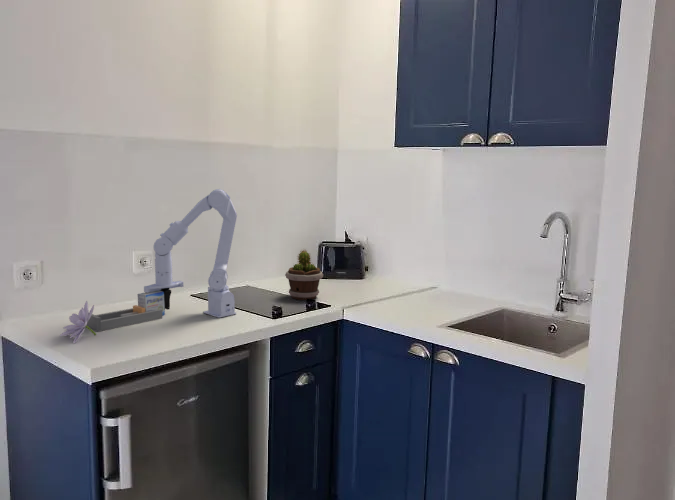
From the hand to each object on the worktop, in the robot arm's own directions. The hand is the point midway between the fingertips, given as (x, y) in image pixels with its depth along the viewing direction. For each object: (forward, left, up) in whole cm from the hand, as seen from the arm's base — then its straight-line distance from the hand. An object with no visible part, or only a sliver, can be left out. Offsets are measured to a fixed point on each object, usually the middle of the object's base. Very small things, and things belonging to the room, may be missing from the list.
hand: (164, 309), depth 211 cm
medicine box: (0, +5, -2) cm, 6 cm away
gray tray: (0, +15, -2) cm, 15 cm away
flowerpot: (-15, -54, -2) cm, 56 cm away
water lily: (-6, +34, -2) cm, 34 cm away
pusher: (0, +13, -1) cm, 13 cm away
